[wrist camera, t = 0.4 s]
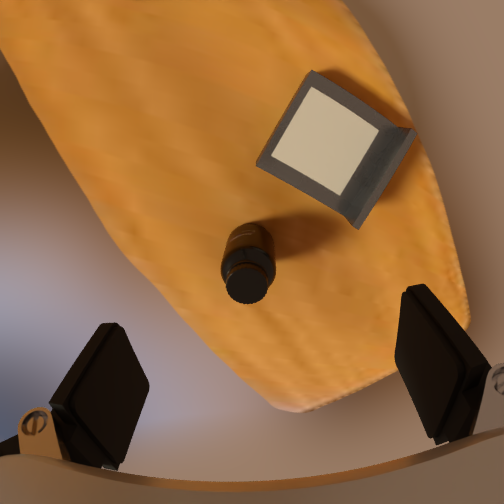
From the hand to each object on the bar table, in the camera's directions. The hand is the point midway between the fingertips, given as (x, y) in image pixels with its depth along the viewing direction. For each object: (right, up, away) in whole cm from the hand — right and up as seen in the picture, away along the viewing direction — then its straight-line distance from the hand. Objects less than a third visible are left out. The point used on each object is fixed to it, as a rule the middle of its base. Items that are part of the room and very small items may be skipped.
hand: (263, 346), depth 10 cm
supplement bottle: (-1, +4, +36) cm, 36 cm away
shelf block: (+10, +18, +30) cm, 36 cm away
